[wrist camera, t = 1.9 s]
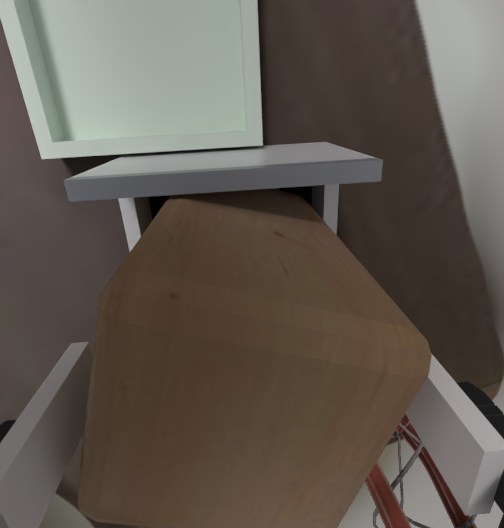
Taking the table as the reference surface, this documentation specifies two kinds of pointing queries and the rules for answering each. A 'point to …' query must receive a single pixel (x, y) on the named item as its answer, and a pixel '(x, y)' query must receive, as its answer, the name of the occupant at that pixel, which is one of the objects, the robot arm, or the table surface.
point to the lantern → (384, 492)
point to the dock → (223, 177)
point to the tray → (137, 74)
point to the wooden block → (242, 370)
